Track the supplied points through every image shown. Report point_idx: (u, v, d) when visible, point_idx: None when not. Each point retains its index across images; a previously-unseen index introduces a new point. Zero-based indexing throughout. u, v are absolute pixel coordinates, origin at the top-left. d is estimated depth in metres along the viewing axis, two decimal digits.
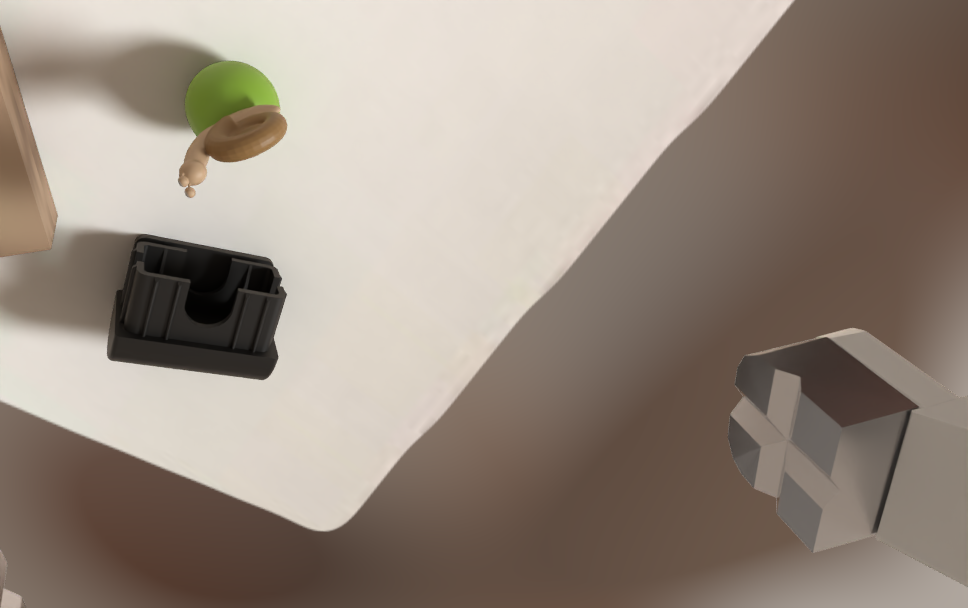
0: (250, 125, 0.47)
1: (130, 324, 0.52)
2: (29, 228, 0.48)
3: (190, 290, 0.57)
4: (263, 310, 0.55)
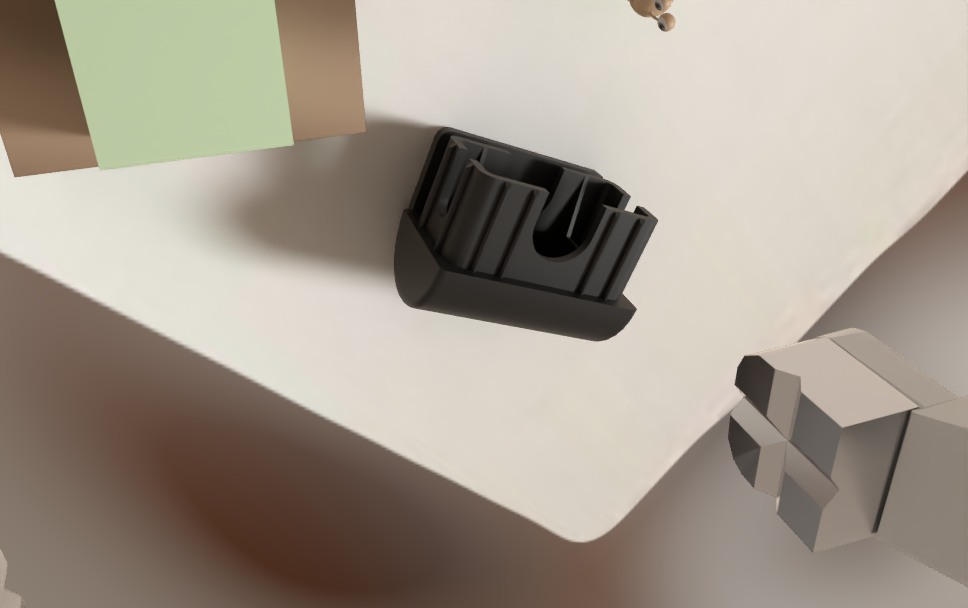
0: None
1: (458, 253, 0.35)
2: (342, 96, 0.31)
3: None
4: (630, 239, 0.37)
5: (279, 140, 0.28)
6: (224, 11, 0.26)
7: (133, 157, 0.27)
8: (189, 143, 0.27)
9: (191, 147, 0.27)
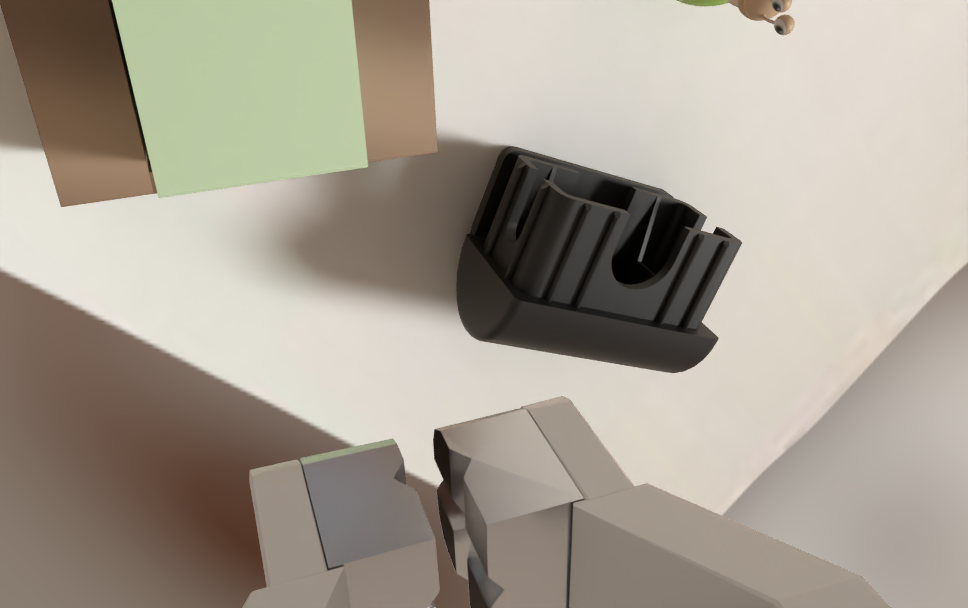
0: None
1: (533, 281, 0.32)
2: (413, 114, 0.29)
3: None
4: (713, 263, 0.35)
5: (352, 162, 0.25)
6: (298, 20, 0.23)
7: (195, 183, 0.24)
8: (256, 166, 0.25)
9: (258, 171, 0.25)
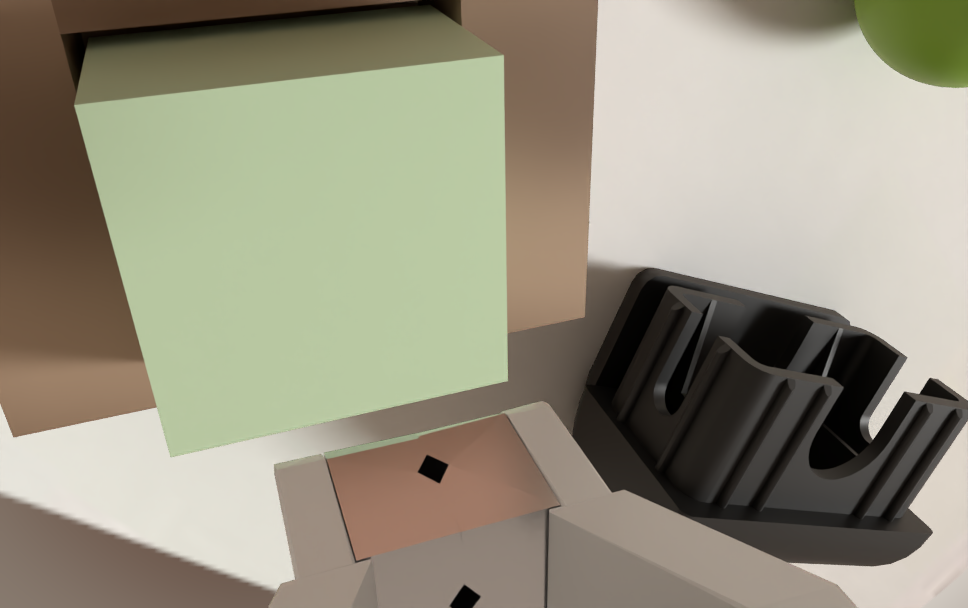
0: None
1: (702, 482, 0.23)
2: (556, 267, 0.19)
3: None
4: (937, 437, 0.25)
5: (485, 376, 0.16)
6: (414, 168, 0.13)
7: (232, 429, 0.14)
8: (332, 396, 0.15)
9: (335, 403, 0.15)
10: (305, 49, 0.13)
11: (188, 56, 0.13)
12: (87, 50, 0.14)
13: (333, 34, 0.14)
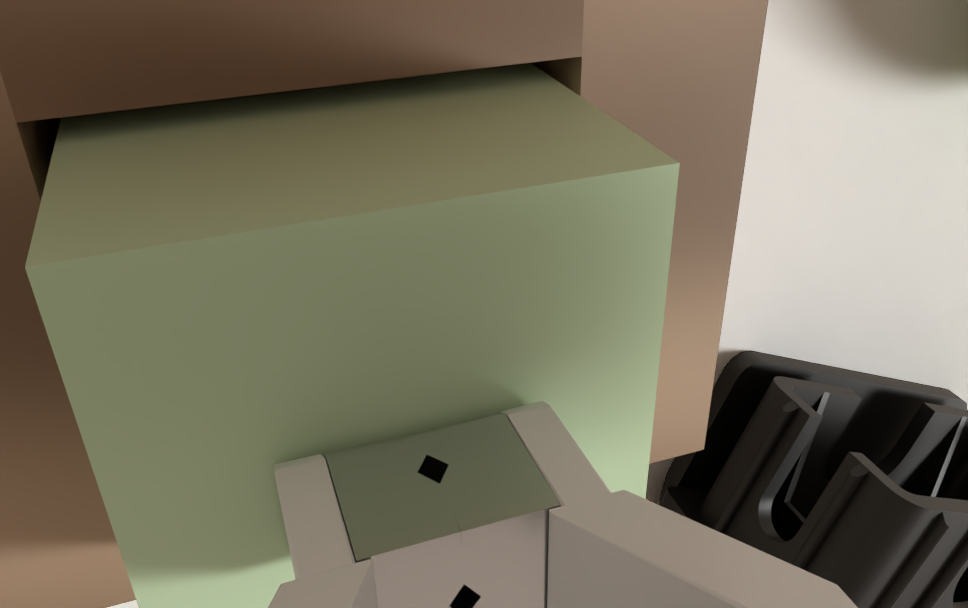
0: None
1: None
2: (675, 393, 0.14)
3: None
4: None
5: None
6: (538, 326, 0.09)
7: None
8: None
9: None
10: (377, 147, 0.09)
11: (205, 157, 0.09)
12: (57, 144, 0.09)
13: (411, 116, 0.10)
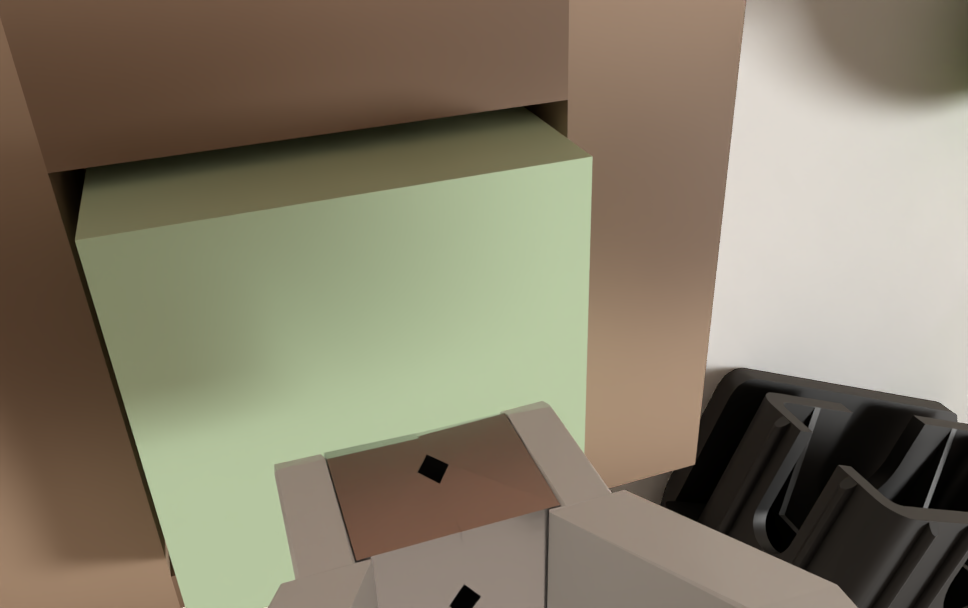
0: None
1: None
2: (665, 411, 0.15)
3: None
4: None
5: None
6: (484, 291, 0.11)
7: (264, 592, 0.12)
8: None
9: None
10: (351, 148, 0.11)
11: (211, 159, 0.11)
12: None
13: None
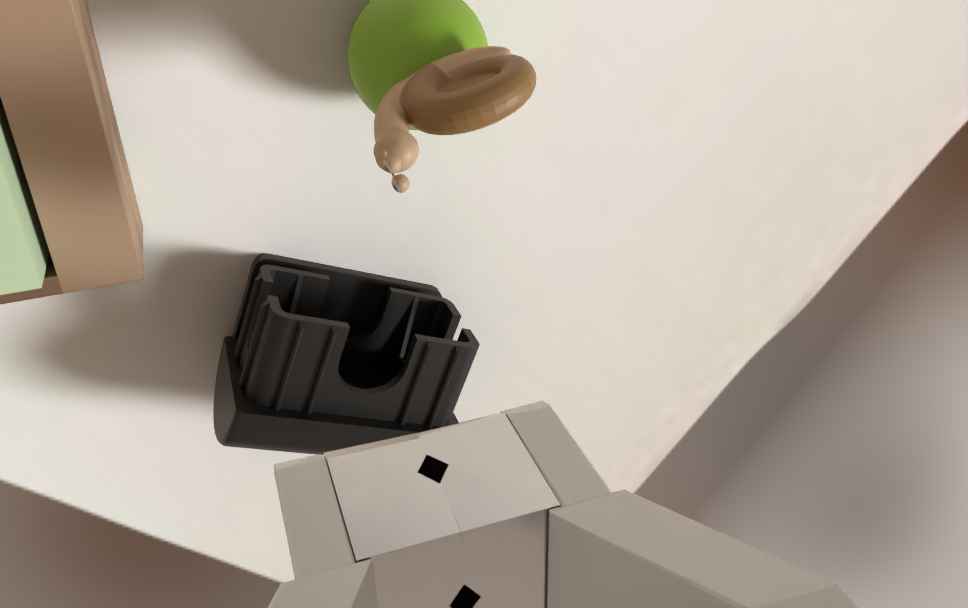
0: (470, 77, 0.29)
1: (258, 392, 0.34)
2: (111, 247, 0.30)
3: None
4: (448, 366, 0.36)
5: (25, 284, 0.28)
6: None
7: None
8: None
9: None
10: None
11: None
12: None
13: None
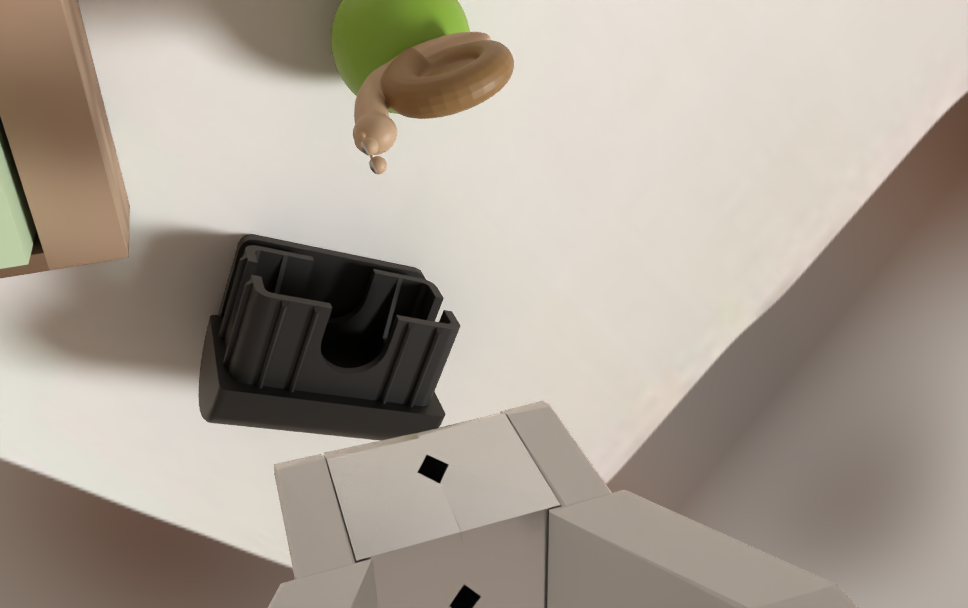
0: (449, 62, 0.30)
1: (241, 370, 0.35)
2: (97, 225, 0.31)
3: None
4: (429, 347, 0.37)
5: (12, 260, 0.29)
6: None
7: None
8: None
9: None
10: None
11: None
12: None
13: None
